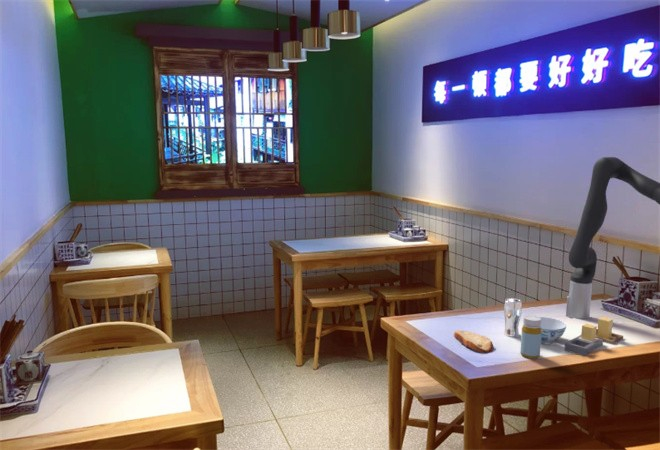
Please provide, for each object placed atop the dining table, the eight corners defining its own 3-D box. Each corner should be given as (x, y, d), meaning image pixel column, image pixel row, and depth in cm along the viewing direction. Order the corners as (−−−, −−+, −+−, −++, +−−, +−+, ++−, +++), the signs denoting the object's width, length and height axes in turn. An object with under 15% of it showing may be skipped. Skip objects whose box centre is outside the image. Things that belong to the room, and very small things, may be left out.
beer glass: (520, 332, 230) (522, 299, 227) (519, 338, 223) (521, 303, 221) (503, 330, 233) (505, 297, 230) (501, 335, 226) (503, 301, 224)
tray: (585, 338, 223) (585, 334, 223) (595, 333, 230) (596, 328, 229) (612, 346, 215) (613, 341, 215) (623, 340, 221) (623, 335, 221)
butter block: (597, 337, 222) (598, 318, 221) (601, 335, 225) (602, 316, 224) (607, 340, 219) (608, 321, 218) (611, 337, 222) (612, 319, 221)
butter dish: (564, 350, 211) (566, 329, 210) (582, 340, 221) (583, 321, 219) (585, 356, 205) (586, 335, 204) (602, 346, 215) (604, 326, 213)
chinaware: (547, 350, 211) (548, 331, 210) (517, 337, 224) (518, 320, 223) (573, 343, 218) (574, 325, 216) (543, 332, 231) (544, 314, 230)
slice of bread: (455, 333, 230) (455, 324, 230) (498, 340, 222) (499, 331, 222) (443, 347, 215) (444, 338, 214) (490, 355, 206) (490, 346, 206)
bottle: (517, 352, 209) (519, 315, 206) (534, 351, 209) (536, 314, 207) (525, 359, 202) (527, 321, 200) (543, 358, 202) (545, 320, 200)
